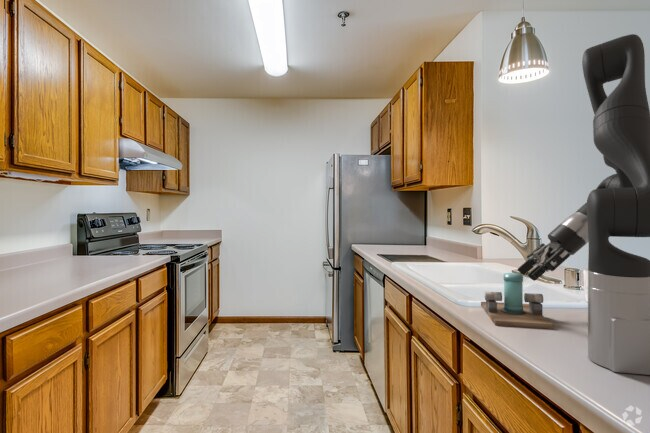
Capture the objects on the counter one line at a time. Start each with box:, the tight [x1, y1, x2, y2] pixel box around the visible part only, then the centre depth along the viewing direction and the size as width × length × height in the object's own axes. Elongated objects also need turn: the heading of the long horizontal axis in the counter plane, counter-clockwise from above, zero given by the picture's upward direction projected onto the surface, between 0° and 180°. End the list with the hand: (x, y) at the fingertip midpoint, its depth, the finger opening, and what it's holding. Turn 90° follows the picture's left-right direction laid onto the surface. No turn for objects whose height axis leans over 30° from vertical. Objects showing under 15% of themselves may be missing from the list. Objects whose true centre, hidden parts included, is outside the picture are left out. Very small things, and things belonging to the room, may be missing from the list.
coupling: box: [503, 272, 524, 313], centre depth 94 cm, size 5×5×10 cm
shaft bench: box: [480, 291, 554, 330], centre depth 93 cm, size 18×14×6 cm
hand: (525, 275), depth 92 cm, fingers open, 8 cm apart
